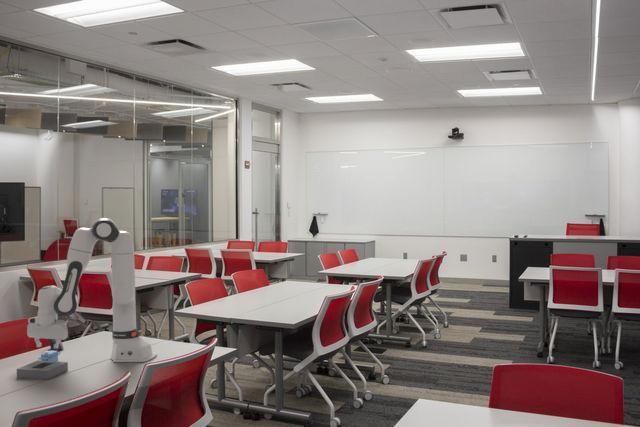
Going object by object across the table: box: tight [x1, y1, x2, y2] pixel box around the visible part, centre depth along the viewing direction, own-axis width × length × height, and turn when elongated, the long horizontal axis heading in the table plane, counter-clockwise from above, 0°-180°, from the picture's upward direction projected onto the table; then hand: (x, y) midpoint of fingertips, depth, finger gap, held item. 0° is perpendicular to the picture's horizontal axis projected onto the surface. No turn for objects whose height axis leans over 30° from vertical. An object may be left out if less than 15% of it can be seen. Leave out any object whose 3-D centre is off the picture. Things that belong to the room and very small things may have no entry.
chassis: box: [16, 359, 69, 381], centre depth 269 cm, size 16×14×4 cm
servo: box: [37, 350, 61, 361], centre depth 284 cm, size 4×11×7 cm, turn 168°
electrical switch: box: [47, 339, 64, 351], centre depth 313 cm, size 9×5×9 cm, turn 44°
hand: (47, 347), depth 283 cm, fingers open, 8 cm apart
